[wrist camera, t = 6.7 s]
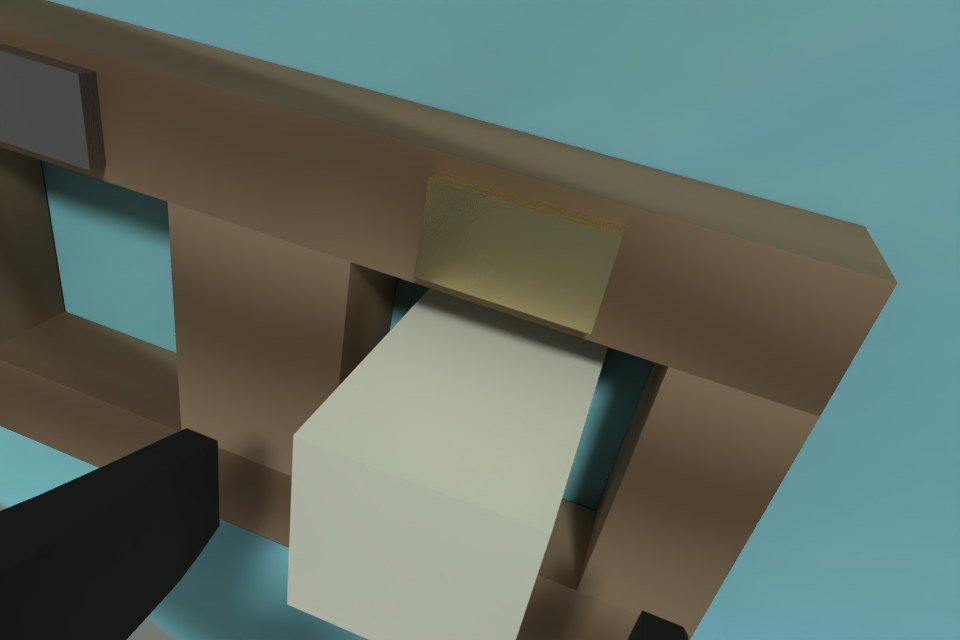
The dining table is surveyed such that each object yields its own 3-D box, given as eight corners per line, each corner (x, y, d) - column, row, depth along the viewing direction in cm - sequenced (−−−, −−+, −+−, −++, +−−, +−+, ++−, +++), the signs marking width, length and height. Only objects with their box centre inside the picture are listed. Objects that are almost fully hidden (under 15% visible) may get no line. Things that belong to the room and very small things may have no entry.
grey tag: (106, 165, 13) (89, 170, 13) (-24, 123, 14) (-42, 127, 13) (96, 71, 12) (78, 74, 12) (-43, 30, 13) (-64, 31, 12)
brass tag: (594, 324, 11) (590, 335, 11) (422, 268, 12) (414, 276, 11) (626, 227, 10) (623, 236, 10) (437, 171, 11) (428, 178, 11)
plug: (567, 469, 16) (497, 695, 11) (417, 415, 17) (287, 604, 12) (612, 332, 14) (551, 532, 9) (439, 277, 15) (293, 434, 10)
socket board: (661, 612, 17) (653, 702, 15) (10, 354, 21) (-70, 396, 19) (864, 227, 12) (897, 283, 9) (-74, -33, 15) (-201, -34, 13)
